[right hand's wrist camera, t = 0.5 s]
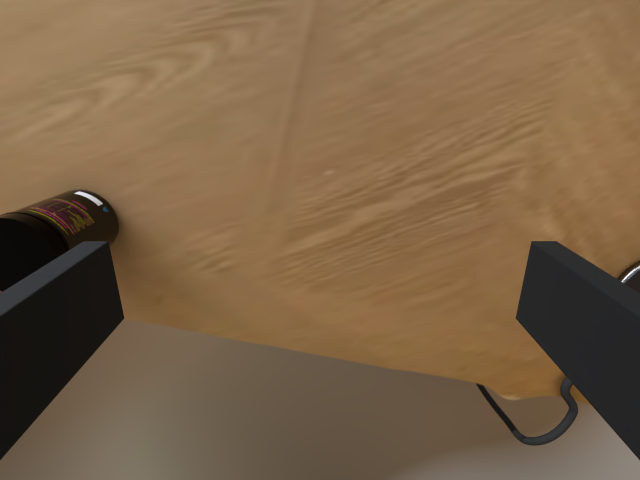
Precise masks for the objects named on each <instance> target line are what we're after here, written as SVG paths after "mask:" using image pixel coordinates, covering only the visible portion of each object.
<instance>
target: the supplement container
mask: <svg viewBox="0 0 640 480" xmlns="http://www.w3.org/2000/svg"><path fill="white" fill-rule="evenodd" d="M118 227H119V225H118V218H117V215H116V213H115V211H114V209H113V208H112V206H111V205H110V204H109V203H108V202H107V201H106V200H105V199H104V198H102V197H101V196H99V195H98V194H95V193H93V192H90V191H86V190H70V191H67V192H64V193H62V194H59V195H56V196H54V197H51V198H48V199H46V200H43V201H40V202H38V203H35V204H32V205H29V206H27V207H24V208H21V209H19V210H16V211H13V212H9V213H6V214H3V215H0V291H2V292H3V291H5V290H6V289H8V288H10V287H11V286H13V285H14V284H16V283H18V282H19V281H21V280H22V279H24V278H26V277H27V276H29V275H30V274H32V273H34V272H35V271H37V270H38V269H40V268H42V267H43V266H45V265H47V264H48V263H50V262H51V261H53V260H55V259H56V258H58V257H59V256H61V255H63V254H64V253H66V252H67V251H69V250H71V249H72V248H74V247H75V246H77V245H79V244H80V243H82V242H83V241H108V242H109V246H110V245H111V244H112V243H113V242H114V240H115V239H116V236H117V233H118Z"/></svg>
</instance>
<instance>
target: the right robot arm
mask: <svg viewBox="0 0 640 480" xmlns="http://www.w3.org/2000/svg"><path fill="white" fill-rule="evenodd" d="M123 319H124V315H123V310H122V305H121V300H120V295H119V290H118V286H117V281H116V276H115V271H114V266H113V261H112V256H111V252H110V247H109V242H108V241H83V242H82V243H80V244H79V245H77V246H75V247H74V248H72V249H71V250H69V251H67V252H66V253H64V254H63V255H61V256H59V257H58V258H56V259H55V260H53V261H51V262H50V263H48V264H47V265H45V266H43V267H42V268H40V269H38V270H37V271H35V272H34V273H32V274H30V275H29V276H27V277H26V278H24V279H22V280H21V281H19V282H18V283H16V284H14V285H13V286H11V287H10V288H8V289H6V290H5V291H3V292H2V293H0V460H1V459H2V457H3V456H4V455H5V454H6V453H7V452H8V451H9V449H10V448H11V447H12V446H13V445H14V444H15V443H16V441H17V440H18V439H19V438H20V437H21V436H22V435H23V433H24V432H25V431H26V430H27V429H28V428H29V427H30V425H31V424H32V423H33V422H34V421H35V420H36V419H37V417H38V416H39V415H40V414H41V413H42V412H43V411H44V409H45V408H46V407H47V406H48V405H49V404H50V403H51V401H52V400H53V399H54V398H55V397H56V396H57V395H58V393H59V392H60V391H61V390H62V389H63V388H64V387H65V385H66V384H67V383H68V382H69V381H70V380H71V379H72V377H73V376H74V375H75V374H76V373H77V372H78V371H79V369H80V368H81V367H82V366H83V365H84V364H85V363H86V361H87V360H88V359H89V358H90V357H91V356H92V355H93V353H94V352H95V351H96V350H97V349H98V348H99V346H100V345H101V344H102V343H103V342H104V341H105V340H106V339H107V337H108V336H109V335H110V334H111V333H112V332H113V330H114V329H115V328H116V327H117V326H118V325H119V324H120V322H121V321H122V320H123ZM516 319H517V320H518V321H519V323H520V324H521V325H522V326H523V327H524V328H525V329H526V331H527V332H528V333H529V334H530V335H531V336H532V337H533V339H534V340H535V341H536V342H537V343H538V344H539V345H540V347H541V348H542V349H543V350H544V351H545V352H546V353H547V355H548V356H549V357H550V358H551V359H552V360H553V361H554V363H555V364H556V365H557V366H558V367H559V368H560V369H561V371H562V372H563V373H564V374H565V375H566V376H567V377H568V379H569V380H570V381H571V382H572V383H573V384H574V385H575V387H576V388H577V389H578V390H579V391H580V392H581V393H582V395H583V396H584V397H585V398H586V399H587V400H588V401H589V403H590V404H591V405H592V406H593V407H594V408H595V409H596V411H597V412H598V413H599V414H600V415H601V416H602V417H603V419H604V420H605V421H606V422H607V423H608V424H609V425H610V427H611V428H612V429H613V430H614V431H615V432H616V433H617V435H618V436H619V437H620V438H621V439H622V440H623V441H624V443H625V444H626V445H627V446H628V447H629V448H630V449H631V451H632V452H633V453H634V454H635V455H636V456H637V457H638V459H639V460H640V293H638V292H637V291H635V290H634V289H632V288H630V287H629V286H627V285H626V284H624V283H622V282H621V281H619V280H618V279H616V278H614V277H613V276H611V275H610V274H608V273H606V272H605V271H603V270H602V269H600V268H598V267H597V266H595V265H593V264H592V263H590V262H589V261H587V260H585V259H584V258H582V257H581V256H579V255H577V254H576V253H574V252H573V251H571V250H569V249H568V248H566V247H565V246H563V245H561V244H560V243H558V242H557V241H532V242H531V247H530V252H529V256H528V261H527V266H526V271H525V276H524V281H523V286H522V290H521V295H520V300H519V305H518V310H517V315H516Z"/></svg>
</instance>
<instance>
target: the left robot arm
mask: <svg viewBox="0 0 640 480" xmlns="http://www.w3.org/2000/svg"><path fill="white" fill-rule="evenodd" d="M618 280H619V281H621V282H622V283H624V284H626V285H627V286H629V287H630V288H632V289H634V290H635V291H637V292H638V293H640V261H639V262H637V263H635V264H634V265H632V266H631V267H629V268H628V269H627V270H626V271H624V272H623V273H622V274H621V275H620V276H619V278H618ZM476 385H477V386H478V388H479V390H480V391H481V393H482V394H483V396H484V397H485V398H486V400H487V401H488V403H489V404H490V405H491V406H492V408H493V409H494V411H495V412H496V413H497V414H498V415H499V417H500V418H501V419H502V420H503V422H504V423H505V424H506V425H507V427H508V428H509V430H510V431H511V432H512V434H513V435H514V436H515V437H516V438H517V439H518V440H519V441H520V442H522V443H524V444H528V445H543V444H546V443H549V442H551V441H553V440H555V439H557V438H558V437H560V436H561V435H562V434H563V433H564V432H565V431H566V430H567V429H568V428H569V427H570V426H571V424H572V423H573V421H574V420H575V418H576V416H577V413H578V407H577V404H576V402H575V400H574V399H573V397H572V396H571V394H570V392H569V391H570V388H571V386H572V385H573V383H572V382H571V381H570V380H569V379H568V377H566V378H565V379H564V381H563V382H562V384H561V389H560V390H561V395H562V397H563V399H564V400H565V401H566V403H567V404H568V406H569V411H568V413H567V414H566V416H565V418H564V419H563V420H562V422H561V423H560V424H559V425H558V426H557V427H556V428H554V429H553V430H552V431H550V432H549V433H547V434H545V435H542V436H538V437H526V436H524V435H523V434H521V433H520V432H519V431H518V429H517V428H516V427H515V425H514V424H513V423H512V421H511V420H510V419H509V418H508V416H507V415H506V414H505V413H504V412H503V411H502V409H501V408H500V407H499V406H498V405H497V403H496V402H495V401H494V399H493V398H492V397H491V395H490V394H489V393H488V391H487V390H486V388H485V387H484V385H481V384H478V383H476Z"/></svg>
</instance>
